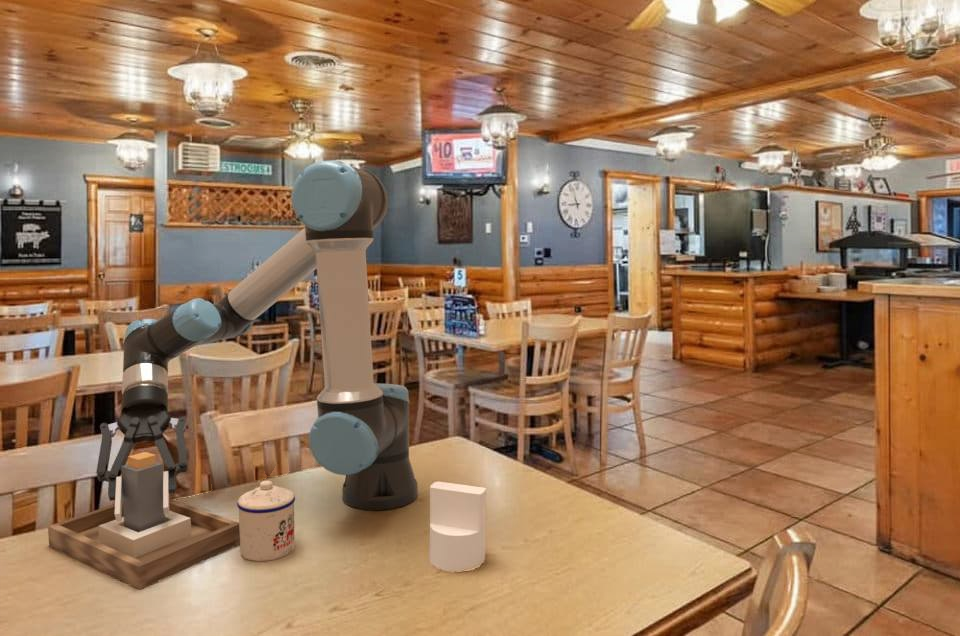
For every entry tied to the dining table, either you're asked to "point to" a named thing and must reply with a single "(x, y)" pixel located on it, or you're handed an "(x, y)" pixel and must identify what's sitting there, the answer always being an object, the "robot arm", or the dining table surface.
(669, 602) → the dining table surface
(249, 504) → the teacup with lid
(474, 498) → the cylinder with rectangular tab
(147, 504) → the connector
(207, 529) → the brown wooden tray
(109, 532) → the socket
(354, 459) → the robot arm
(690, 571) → the dining table surface
